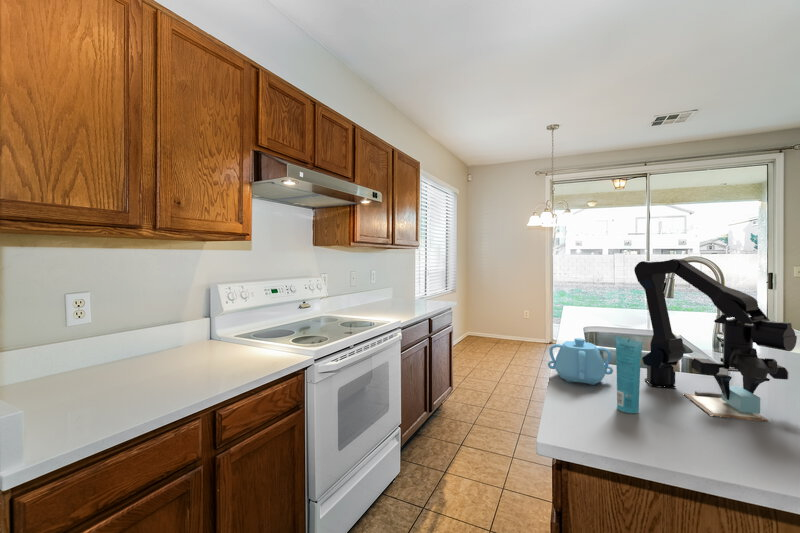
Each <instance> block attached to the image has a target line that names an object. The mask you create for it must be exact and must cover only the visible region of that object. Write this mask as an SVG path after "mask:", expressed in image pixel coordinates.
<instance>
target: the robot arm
mask: <svg viewBox="0 0 800 533" xmlns="http://www.w3.org/2000/svg"><path fill="white" fill-rule="evenodd" d="M633 269H634V274H635V277H636V280H637V282H638V283H639V285H640V286H641V287H642V288H643V289H644V293H645V299H646V304H647V307H648V313H649V318H650V323H651V327H652V333H653V335H652V338H651V340H650V348H649V349H650V351H649V352H648V353H647V354H645V355H644V356H642V357H641V361H642V362H643V365H644V366H646V377H645V378H644V380H645V382H647V381H648V382H649V383H650V384H651V385H652V386H651V385H650V384H649V383H648V382H647V383H648V384H649V385H650V386H651V387H654V386H661V387H660V388H667V387H676V371H675V370H674V369H675V368H674V366H677V365H678V362H679V361H681V360H682V358H684V352H685V353H686V350H685V348H684V344H683V339H682V337H680V338H677V337H676V335H675V334H674V333H673V329H672V324H671V321H670V320H671V319H670V316H669V315H670V314H669V311H668V307H667V301H666V296H665V293H664V292H665V291H664V285H665V282H666V280H667V275H669V274H675V276H677V277H679V278H681V279H682V280H684V281H685V282H687V283H688V284H690V285H691V286H692V287H694V288H696V289H697V290H698V291H700V292H701V293H702V294H704V295H706V296H707V297H708V298H709V299H710V300H711V302H712V304H713V305H714V306H715V307H716V308H717V309H718V310H719V311H720V312H721V313H722V314H721V316H720V317H718V318H716V319H714V320H713V322H714V323H715V324H716V323H717V324H723V342H720V347H722V348H723V356H722V357H720V362H721V363H718V362H715V361H713V360H711V359H710V358H699V357H698V358H697V357H694V358H693V359H692V360H691V365H690V366H691V368H692V369H693V370H695V371H697V372H698V373H699V374H703V375H712V376H713V377H714V379H715V381H716V383H717V384H718V387H719V388H720V391H721V394H722V393H723V395H724V397H725V399H727V400H729V396H730V387H729V385H730V381H731V380H732V378H733V377H732V376H730V375H729V372H735V373H740V374H741V376H742V388H744V389H745V390H747V391H749V392H751V393H752V394H754V393H755V391H756V390H757V389H758V386H759V385H761V384H762V383H764V382H769V381H771V379H770V378H769V377H767V376H768V375H769V376H771V378H773V379H776V380H789V375H790V373H789V371H788V369H787V368H786V367H784V366H782V365H779V364H778V361H777V360H776V359H774V358H765V357H764V358H761V357H759V356H758V352H757V348H754V343H755V344H756V345H757V346H758V347H763V348H767V349H768V348H769V349H774V350H780V351H785V352H791V351H794V349H795V347H796V346H797V340H798V339H797V338H798V336H797V335H796V332H795V330H794V329H793V328H792V325H793V324H792V322H786V321H781V322H780V321H773V320H770V319H769V317H767V316H766V314H765V313H764V312H763V310H762V309H761V308H760V307H759V304H758V303H759V302H758V301H757V298H755V297H754V296H752V295H750V294H747V293H745V292H742V291H740V290H737V289H734V288H732V287H729V286H726V285H724V284H722V283H721V282H719V281H717V280H716V279H714V278H712V277H711V276H709V275H708V274H706V273H705V272H703V271H701V269H698V268H697V267H695V266H693V265H692V264H691V263H689V261H687V260H685V258H684V259H683V258H672V259H668V260H664V261H662V260H661V261H660V260H659V261H658V260H650V261H649V260H646V261H645V260H644V261H642V260H641V261H639V262H638V263H637V264H636V265H635V266H634V268H633ZM664 386H665V387H664Z"/></svg>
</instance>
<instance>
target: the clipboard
mask: <svg viewBox="0 0 800 533" xmlns="http://www.w3.org/2000/svg"><path fill="white" fill-rule="evenodd" d="M683 394H684V395H685V396H686V397H685V396H684V395H683ZM682 395H683V396H684V397H685V398H687V397H688V398H689V399H690V400H692V401H693V402H694V403H695V404H694V403H693V402H692V401H691V402H692V403H693V404H694V405H695V406H697V405H698V406H699V407H700V408H699V407H698V406H697V407H698V408H699V409H701V408H702V409H703V410H704V411H705V412H704V411H703V410H702V409H701V410H702V411H703V412H704V413H706V412H707V413H708V414H710V415H713V416H721V417H720V418H722V417H729V418H728V419H733V418H736V420H744V419H746V420H745V421H755V422H765V421H769V422H770V420H769V419H767V418H766V417H765V416H763V415H762V414H761V413H760V414H758V413H746V412H740V411H738V410H737V409H735V408H734V407H732V406H731V405H729V404H728V403H726V402H725V401H723V400H722V392H713V391H701V390H698V391H697V390H695V391H694V393H688V392H687V393H684V392H683V393H682ZM688 398H687V399H688ZM689 399H688V400H689ZM690 400H689V401H690ZM707 413H706V414H707ZM708 414H707V415H708ZM710 415H709V416H710Z"/></svg>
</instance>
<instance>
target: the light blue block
mask: <svg viewBox="0 0 800 533" xmlns="http://www.w3.org/2000/svg"><path fill="white" fill-rule="evenodd" d="M729 387H730V396H729V400H727V399H725V397H724V395H723V393H722V392H721V394H722V400H723V401H725V402H726V403H728V404H729V405H731V406H732V407H734V408H735V409H737V410H738V411H740V412H746V413H758V414H760V415H761V397H760V396H758V395H756V394H754V393H753V394H752V393H751V392H749V391H747V390H745V389H744V388H743V386H740V385H730V384H729Z"/></svg>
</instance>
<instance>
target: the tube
mask: <svg viewBox="0 0 800 533" xmlns="http://www.w3.org/2000/svg"><path fill="white" fill-rule="evenodd" d="M614 340H615V360H616V363H615V364H616V408H617V409H618V411H620V412H623V413H625V414H638V413H639V410H640V380H641V365H642V364H641V363H642V353H643V344H644V341H641V340H640V341H639V340H636V339H631V338H627V337H622V336H618V335H615V338H614Z"/></svg>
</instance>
